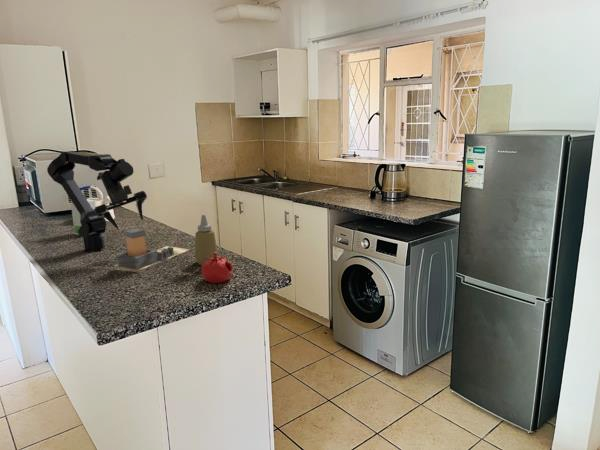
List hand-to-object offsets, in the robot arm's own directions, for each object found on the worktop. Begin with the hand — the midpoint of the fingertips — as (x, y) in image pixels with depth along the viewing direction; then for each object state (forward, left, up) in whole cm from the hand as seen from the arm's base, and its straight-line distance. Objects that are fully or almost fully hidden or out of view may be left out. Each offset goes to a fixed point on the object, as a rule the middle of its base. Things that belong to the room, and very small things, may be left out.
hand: (130, 224), depth 169 cm
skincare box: (-29, +40, -12) cm, 51 cm away
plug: (+4, -14, -11) cm, 18 cm away
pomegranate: (+32, -34, -12) cm, 48 cm away
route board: (+9, -7, -12) cm, 16 cm away
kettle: (-34, +70, -12) cm, 79 cm away
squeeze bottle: (+28, -18, -12) cm, 36 cm away
